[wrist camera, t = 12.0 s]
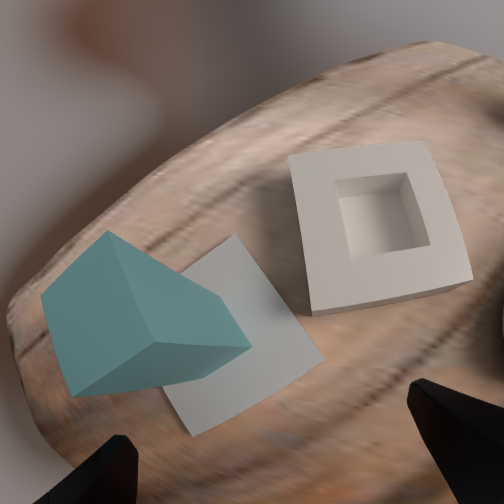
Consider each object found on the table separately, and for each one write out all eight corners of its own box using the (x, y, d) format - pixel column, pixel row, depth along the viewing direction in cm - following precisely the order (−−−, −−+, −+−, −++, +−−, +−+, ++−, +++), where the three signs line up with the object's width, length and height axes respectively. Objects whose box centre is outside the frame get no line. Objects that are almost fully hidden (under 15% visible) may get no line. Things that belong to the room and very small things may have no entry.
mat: (325, 358, 17) (325, 359, 17) (195, 435, 17) (192, 437, 17) (237, 236, 22) (235, 233, 21) (130, 315, 22) (126, 314, 21)
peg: (252, 346, 18) (155, 341, 7) (203, 378, 18) (71, 397, 7) (220, 296, 20) (107, 230, 9) (174, 328, 20) (40, 295, 9)
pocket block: (454, 289, 16) (473, 279, 14) (312, 316, 18) (311, 311, 16) (415, 163, 20) (423, 140, 18) (291, 178, 22) (287, 155, 19)
